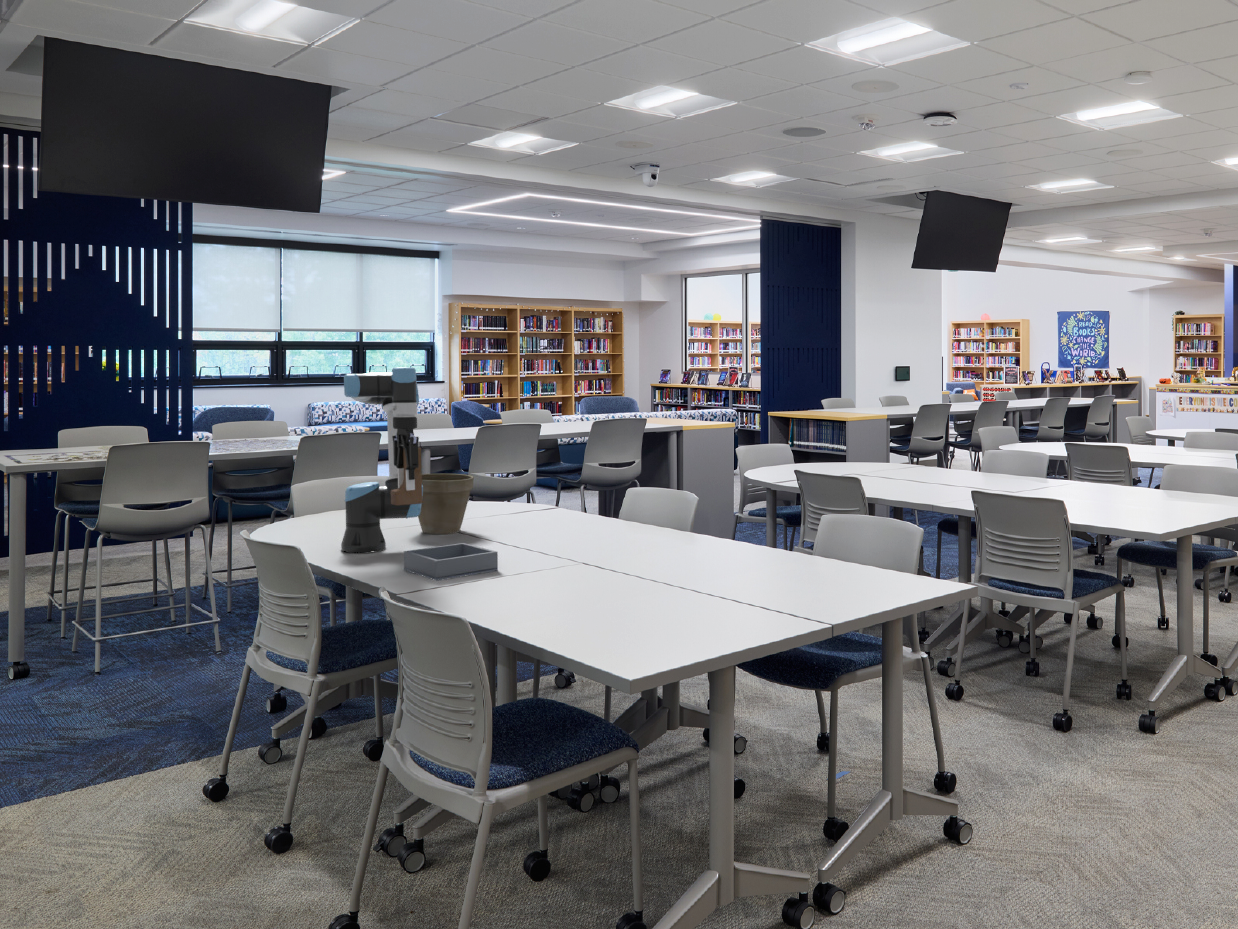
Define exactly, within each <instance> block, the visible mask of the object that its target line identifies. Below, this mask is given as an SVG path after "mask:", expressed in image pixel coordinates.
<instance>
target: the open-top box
mask: <svg viewBox="0 0 1238 929" xmlns="http://www.w3.org/2000/svg"><path fill="white" fill-rule="evenodd" d="M498 558H499V556H498V551H495V550H492V549H490V548H484V547H480V546H477V545H473V544H468V543H466V542H465V543H464V542H461V543H454V544H446V545H445V544H444V545H440V546H433V547H426V548H425V547H424V548H417V549H409V550H404V551H403V570H404V569H405V570H404V571H406V570H407V571H406V572H409V573H412V572H414V573H413V574H415V573H416V575H419V576H421V575H423V576H422V577H424V576H425V578H428V579H430V578H432V579H431V580H433V579H434V581H442V579H444V580H448V579H447V578H450V579H454V578H461V577H460V576H462V577H466V576H465V575H468V576H473V575H474V576H475V575H479V574H478V573H480V574H483V573H482V572H486V573H489V572H491V571H492V572H496V571H495V570H498V569H499V566H498V565H499V564H498V563H499V562H498V560H499V559H498ZM498 571H499V570H498Z"/></svg>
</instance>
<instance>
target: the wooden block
mask: <svg viewBox="0 0 1238 929" xmlns="http://www.w3.org/2000/svg"><path fill="white" fill-rule="evenodd" d="M403 459H404V480H403V484H402V485H401V486H400V488H398V489H394V490H391V504H393V505H396V506H397V505H410V504H421V503H422V474H423V473H422V447H420V446H418V465H419V466H418V468H416V469H415V490H406V470H405V468H407V464H406V456H405V449H404V450H403Z"/></svg>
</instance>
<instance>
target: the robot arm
mask: <svg viewBox="0 0 1238 929" xmlns="http://www.w3.org/2000/svg"><path fill="white" fill-rule="evenodd" d="M417 379H418V378H417V370H416V368H415V367H409V366H408V367H407V366H406V367H404V366H402V367H401V366H400V367H393V368H392V369H391V372H380V371H379V372H375V371H373V372H372V371H371V372H366V373H346V374H344V376H343V387H344V388H343V389H344V390H343V391H344V393H343V394H344V396H345V397H346V398H351V399H352V400H354V401H356V402H359V403H363V404H366V405H367V404H369V405H382V411H384V412H385V413H386V416H387V417H386V419H387V421H386V422H387V445H388V446H387V448H388V452H387V453H388V473H389V474H388V475H389V477H387V478H386V480H385V481H384V485H380V483H379V481H369V482H368V481H367V482H361V483H356V484H352V485H349V486H347V487H346V488H345V494H344V495H345V496H344V502H345V530H344V534H343V537H342V541H341V544H340V546H341V547H340V548H341V549H340V550H341V551H342V552H344V551H346V552H345V553H349V552H356V553H355V554H361V553H360V552H368V553H372V552H371V551H376V552H380V550H381V551H383V549H384V550H385V549H386V548H387V547H386V546H387V544H386V542H387V541H386V540H385V536H384V535H383V531H382V529H381V520H385V519H386V520H388V519H390V520H391V519H393V520H394V519H410V518H411V519H412V518H413V519H414V518H418V516H419V515H420V512H421V505H422V503H421V504H410V505H397V506H396V505H393V504H391V490H394V489H398V488H400V486H401V485H402V484H403V480H404V459H403V450H404V449H405V456H406V464H407V468H405V470H406V490H415V469H416V468H418V466H419V465H418V447H419V442H420V441H419V439H420V437H419V436H415V433H414V429H417V428H418V417H417V415H418V404H419V403H420V397H419V389H418V384H417V383H418V382H417ZM422 495H423V485H422ZM357 552H358V553H357Z"/></svg>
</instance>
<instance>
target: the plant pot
mask: <svg viewBox="0 0 1238 929" xmlns="http://www.w3.org/2000/svg"><path fill="white" fill-rule="evenodd" d="M422 485H423V495H422V505H421V512H420V515H419V516H417V518H418V522H419V524H420V529H421V531H422V532H423V534H424V533H425V534H428V535H449V534H455V533H458V532H460V530H461V528H462V525H463V522H464V521H463V520H464V518H465V514H466V510H467V506H468V503H469V499H470V495H471V491H472V490H473V489H474V476H473V475H469V474H463V473H462V474H460V473H422Z"/></svg>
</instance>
